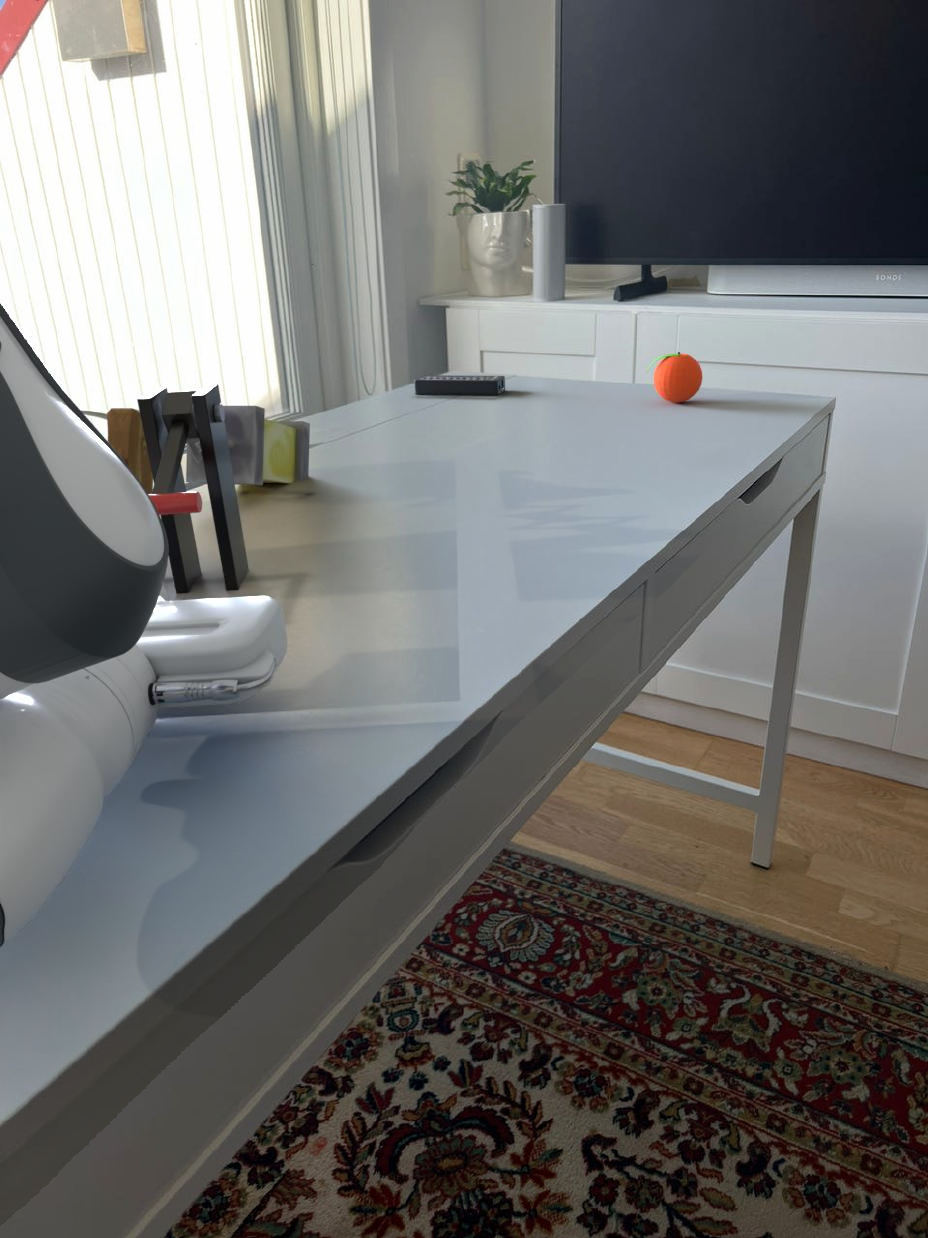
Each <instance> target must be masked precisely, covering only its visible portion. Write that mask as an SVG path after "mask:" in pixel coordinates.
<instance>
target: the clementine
mask: <svg viewBox="0 0 928 1238" xmlns="http://www.w3.org/2000/svg"><path fill="white" fill-rule="evenodd" d="M658 360H659V361H660V362H659V363H658V364H657V365H656V368H655V369H654V372H653V387H654V389H655V392H656V393H657V394H658V395H659V397H661V398H662V399H663V400H665V401H667V402H670V403H674V404H676V403H677V404H679V403H683V402H686V401H689V400H691V399H692V398H693V397H694V396H696V394H697V393H698V392H699V390H700V388H701V386H702V383H703V370H702V367H701V365H700V364H699V362H698V360H697V359H696V358H694V357H692V355H690V354H688V353H681V351H678V352H677V353H668V354H663V355H661V356H659V357H657V358H655V359H654V360H653V361H652V362H651V363H650V365H648V368H647V370H646V373H648V371H649V370H650V367H651V366H653V364H654V363H655V362H657V361H658Z"/></svg>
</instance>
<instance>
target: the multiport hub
mask: <svg viewBox="0 0 928 1238" xmlns="http://www.w3.org/2000/svg"><path fill="white" fill-rule="evenodd" d="M413 381H414V395H440V396H441V395H444V396H499V395H501V394H502V393H503V392H505V391H506V376H504V375H450V374H449V375H448V374H447V375H446V374H445V375H443V374H442V375H438V374H437V375H436V374H435V375H433V374H432V375H431V374H430V375H429V374H427V375H426V374H424V375H422V376H420V377H418V378H416V379H414V380H413ZM503 388H504V389H503Z"/></svg>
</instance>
